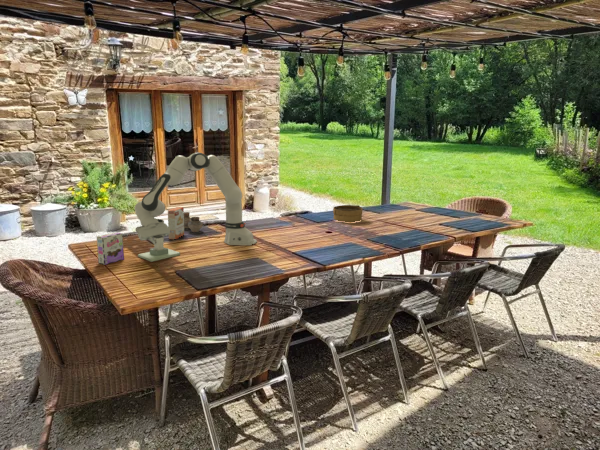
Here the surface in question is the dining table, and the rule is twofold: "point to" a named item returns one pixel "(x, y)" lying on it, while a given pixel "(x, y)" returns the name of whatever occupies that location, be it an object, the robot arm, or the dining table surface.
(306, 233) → the dining table surface
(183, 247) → the dining table surface
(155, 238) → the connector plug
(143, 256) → the holder plate
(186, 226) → the pottery
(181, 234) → the cracker box
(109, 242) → the candy box
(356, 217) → the steamer basket
